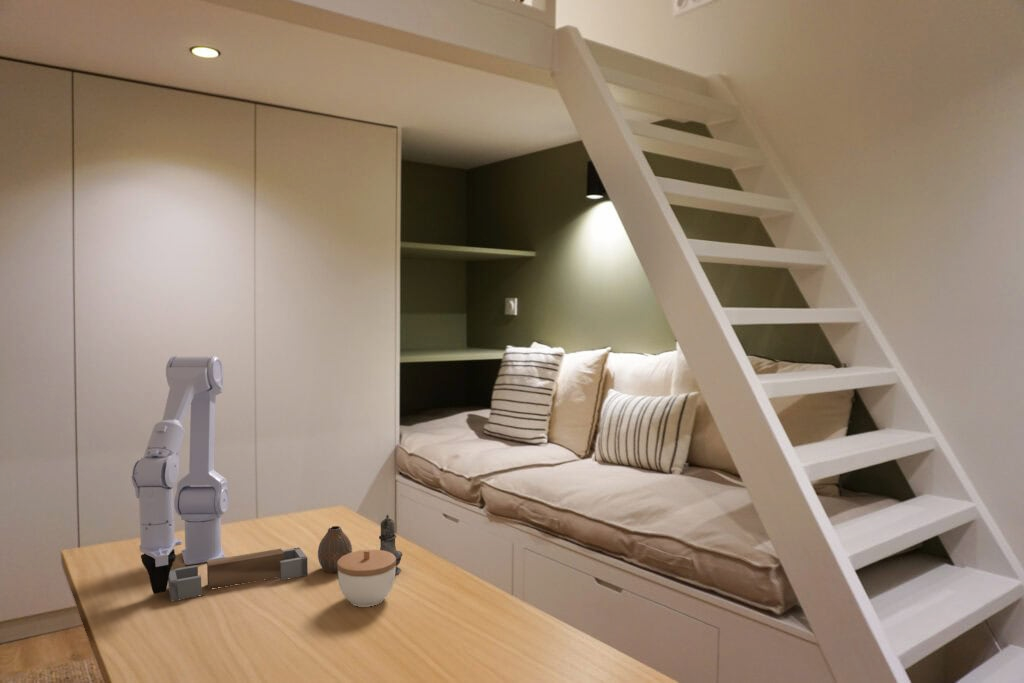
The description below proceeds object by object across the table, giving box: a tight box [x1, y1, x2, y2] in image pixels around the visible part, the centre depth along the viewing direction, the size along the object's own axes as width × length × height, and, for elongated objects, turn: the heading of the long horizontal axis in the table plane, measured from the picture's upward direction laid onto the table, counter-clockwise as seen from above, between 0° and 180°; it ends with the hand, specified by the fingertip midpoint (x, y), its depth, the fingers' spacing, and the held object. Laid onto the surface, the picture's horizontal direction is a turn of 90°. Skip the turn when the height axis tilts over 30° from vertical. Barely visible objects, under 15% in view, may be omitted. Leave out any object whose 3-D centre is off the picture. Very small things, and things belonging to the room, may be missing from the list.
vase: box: [317, 525, 353, 574], centre depth 144 cm, size 7×7×9 cm
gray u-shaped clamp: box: [167, 564, 203, 602], centre depth 133 cm, size 7×5×4 cm
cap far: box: [279, 546, 309, 581], centre depth 143 cm, size 7×5×4 cm
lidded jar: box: [337, 549, 397, 608], centre depth 129 cm, size 11×11×9 cm
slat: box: [206, 548, 284, 590], centre depth 139 cm, size 3×14×5 cm, turn 119°
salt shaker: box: [378, 514, 403, 576], centre depth 143 cm, size 6×6×12 cm
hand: (159, 591), depth 131 cm, fingers closed
